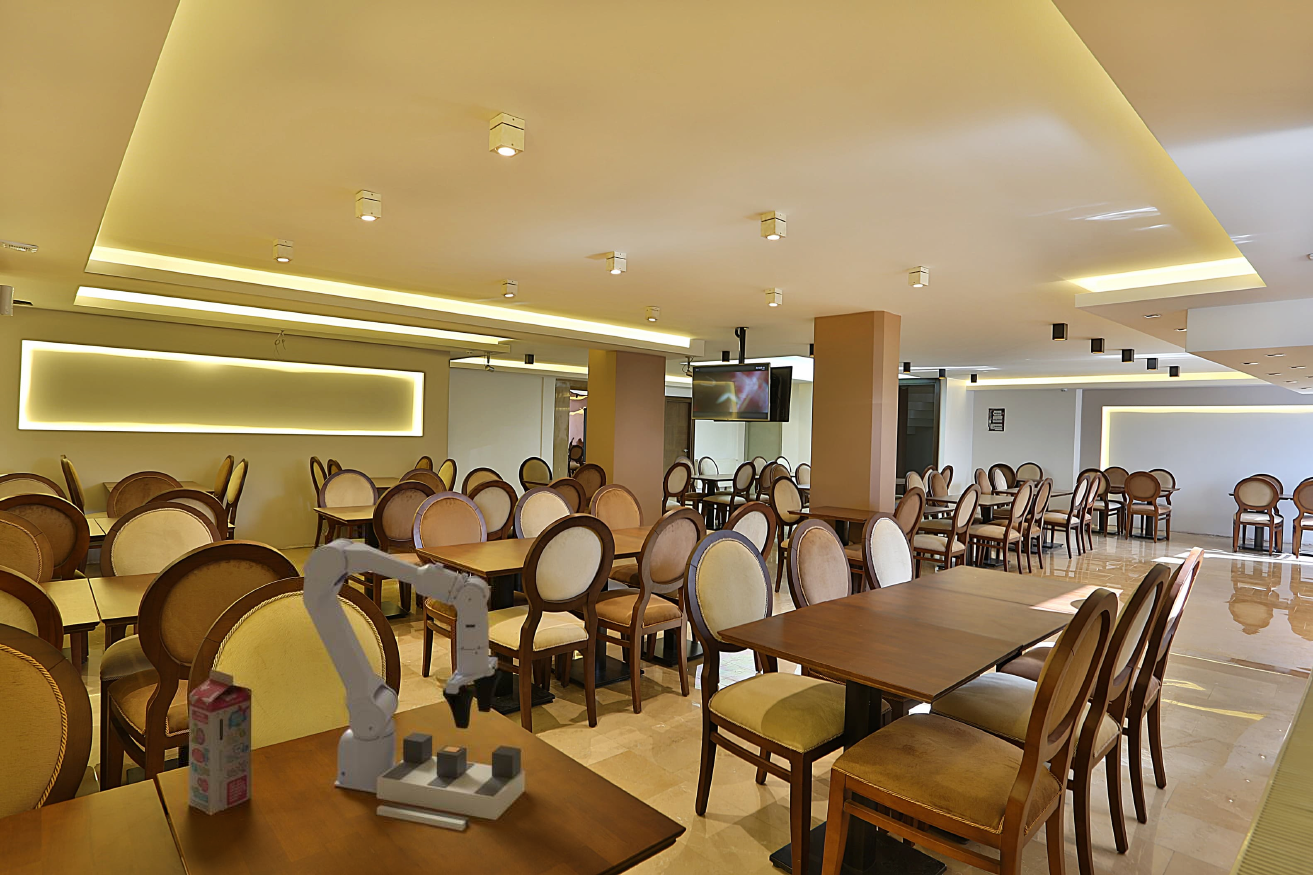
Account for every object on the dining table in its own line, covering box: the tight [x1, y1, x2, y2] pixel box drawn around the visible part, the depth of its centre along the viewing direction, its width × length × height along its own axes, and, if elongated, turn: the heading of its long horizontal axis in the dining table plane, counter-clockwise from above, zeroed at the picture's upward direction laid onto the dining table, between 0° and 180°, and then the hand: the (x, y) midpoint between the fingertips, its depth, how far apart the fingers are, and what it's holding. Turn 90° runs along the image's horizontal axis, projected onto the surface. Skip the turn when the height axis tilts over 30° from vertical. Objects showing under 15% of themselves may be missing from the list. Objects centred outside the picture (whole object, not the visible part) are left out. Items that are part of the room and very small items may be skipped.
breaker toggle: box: [436, 744, 468, 779], centre depth 124 cm, size 4×3×4 cm
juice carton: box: [188, 668, 253, 814], centre depth 121 cm, size 7×7×22 cm
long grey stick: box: [376, 802, 469, 831], centre depth 116 cm, size 16×2×1 cm, turn 73°
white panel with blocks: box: [376, 732, 526, 821], centre depth 124 cm, size 23×10×8 cm, turn 73°
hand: (473, 719), depth 131 cm, fingers open, 7 cm apart
